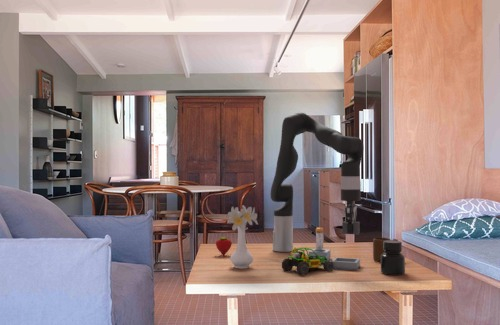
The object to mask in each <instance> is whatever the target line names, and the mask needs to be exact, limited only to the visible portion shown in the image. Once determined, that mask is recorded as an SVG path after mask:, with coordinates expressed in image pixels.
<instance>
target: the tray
mask: <svg viewBox="0 0 500 325" xmlns="http://www.w3.org/2000/svg"><path fill="white" fill-rule="evenodd" d="M331 262H332V263H333V269H335V270H346V271H358V270H359V268H360V267H361V259H360V258H356V257H354V258H352V257H351V258H350V257H338V256H337V257H334V258H333V259H332V260H331ZM333 269H332V270H333Z"/></svg>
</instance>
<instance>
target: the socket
mask: <svg viewBox="0 0 500 325" xmlns="http://www.w3.org/2000/svg"><path fill="white" fill-rule="evenodd" d="M311 249H312V250H313V251H314V252H315V253H316V254H317V255H320V256H324V257H321V259H322V258H325V257H327V258H328V259H327V260H329V259H331V249H326V248H325V249H324V248H323V252H320V251H316V248H311ZM312 250H308V255H313V256H316V254H315V253H314V252H313V251H312ZM309 257H310V256H309ZM314 258H316V257H314ZM329 261H330V260H329Z"/></svg>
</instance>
